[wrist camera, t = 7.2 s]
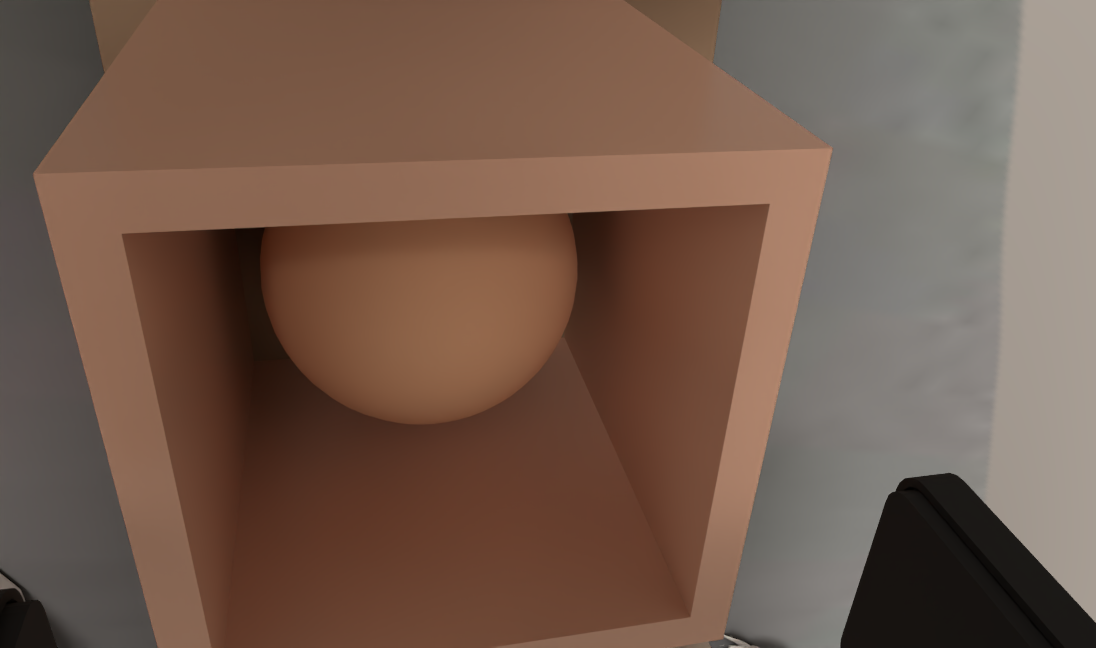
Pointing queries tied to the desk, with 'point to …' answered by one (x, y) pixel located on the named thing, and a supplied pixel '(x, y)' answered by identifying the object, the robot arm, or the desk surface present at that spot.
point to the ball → (421, 309)
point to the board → (118, 9)
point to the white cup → (8, 584)
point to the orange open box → (420, 194)
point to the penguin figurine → (739, 643)
